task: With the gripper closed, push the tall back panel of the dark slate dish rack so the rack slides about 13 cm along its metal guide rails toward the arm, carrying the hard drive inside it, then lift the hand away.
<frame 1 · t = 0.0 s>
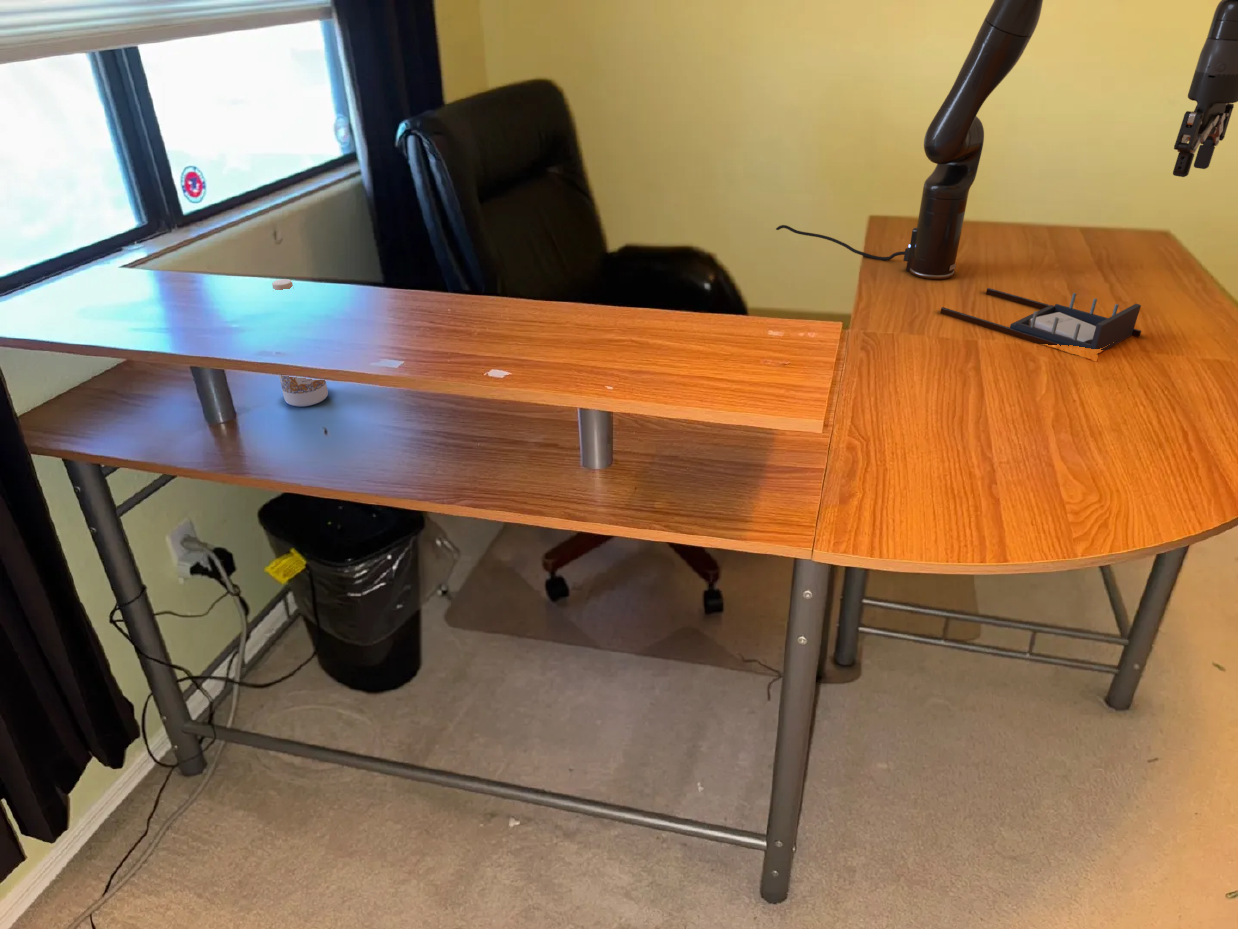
hand: (1190, 171, 151), 29 cm above the table, tool pointing down, fingers open, 8 cm apart
rack: (1074, 318, 164), point 3 cm above the table, slide at 0.0 cm, touching hard drive
rack rails: (1036, 324, 170), on the table
patterned jar: (307, 399, 146), on the table
hard drive: (1069, 334, 165), resting in rack
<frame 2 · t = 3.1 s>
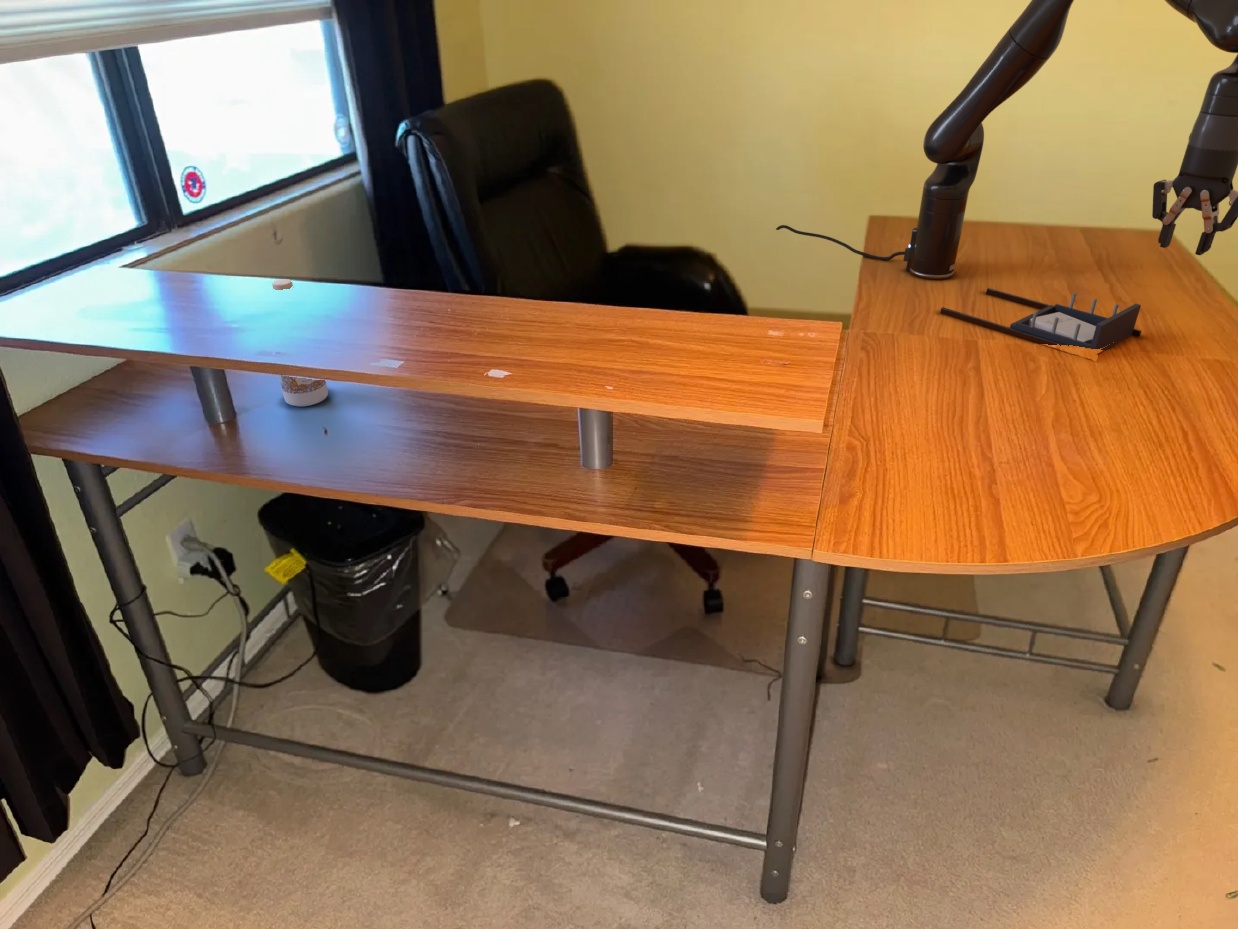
hand: (1181, 249, 146), 19 cm above the table, tool pointing down, fingers open, 5 cm apart
nothing on the table moved.
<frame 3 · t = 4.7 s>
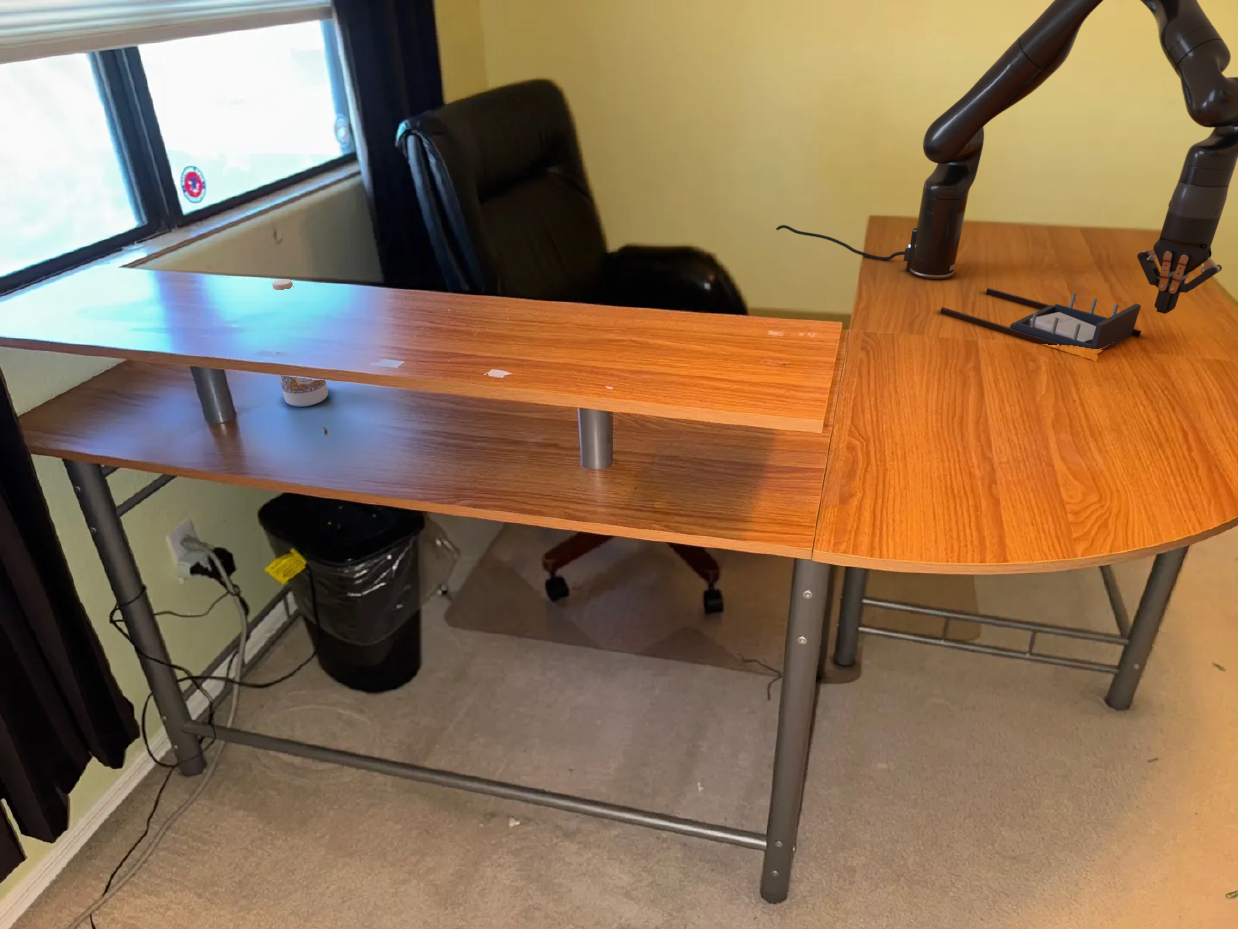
hand: (1162, 311, 152), 9 cm above the table, tool pointing down, fingers closed
nothing on the table moved.
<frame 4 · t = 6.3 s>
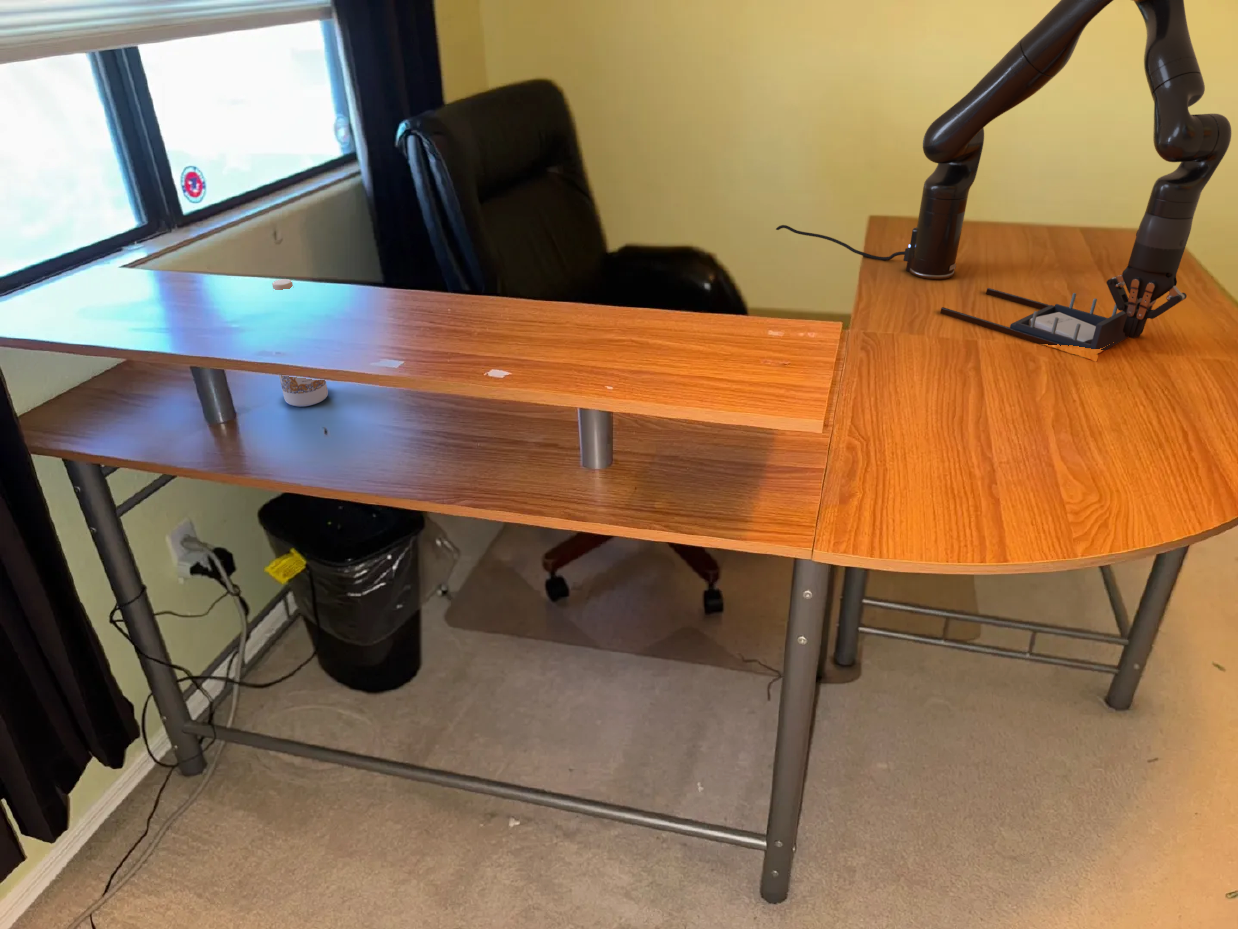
hand: (1130, 336, 157), 3 cm above the table, tool pointing down, fingers closed
rack: (1073, 318, 164), point 3 cm above the table, slide at 0.0 cm, touching gripper, hard drive
everything else where it was.
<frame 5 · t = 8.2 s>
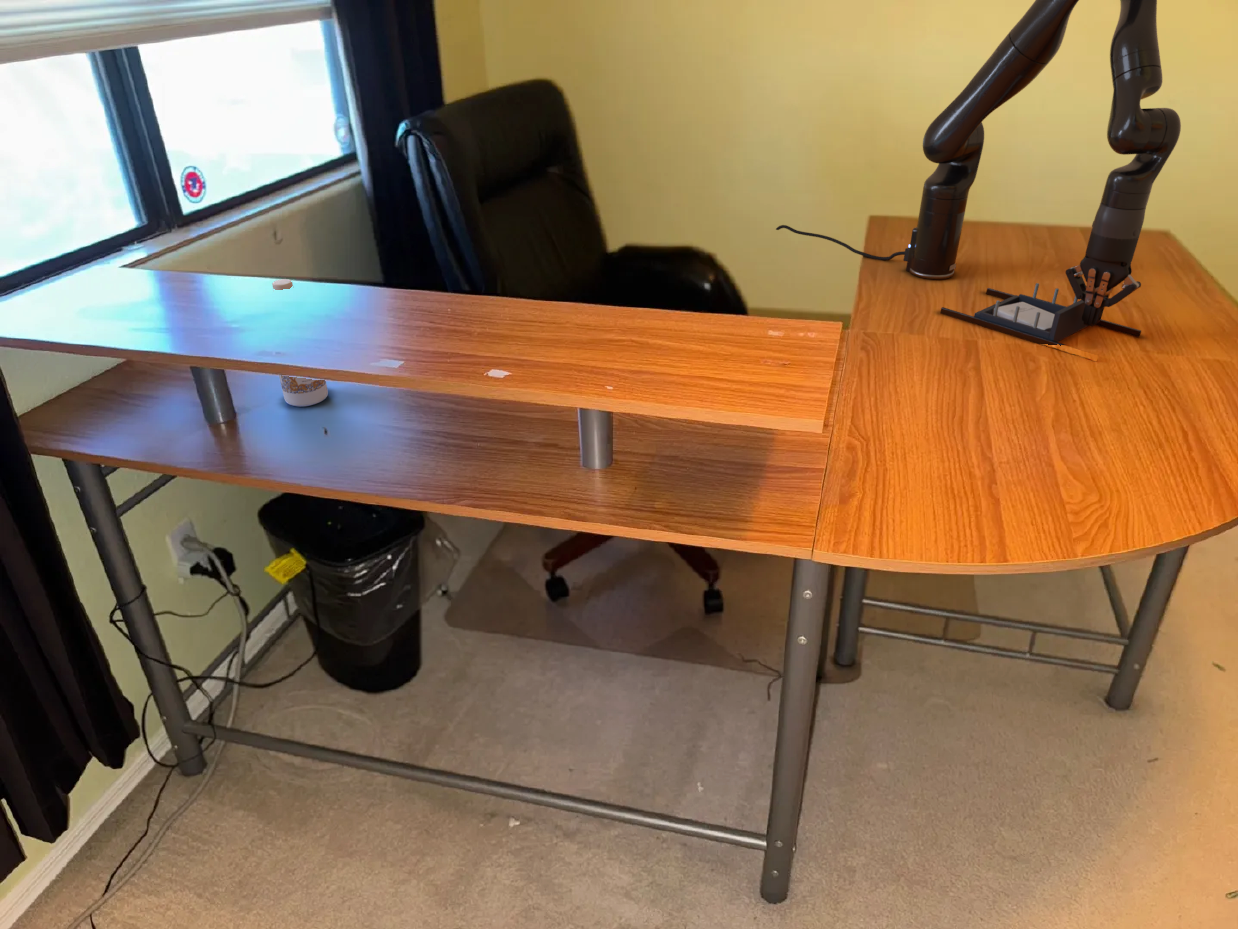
hand: (1089, 324, 162), 3 cm above the table, tool pointing down, fingers closed
rack: (1035, 307, 169), point 3 cm above the table, slide at 7.5 cm, touching gripper, hard drive
hard drive: (1031, 323, 170), resting in rack
everything else where it was.
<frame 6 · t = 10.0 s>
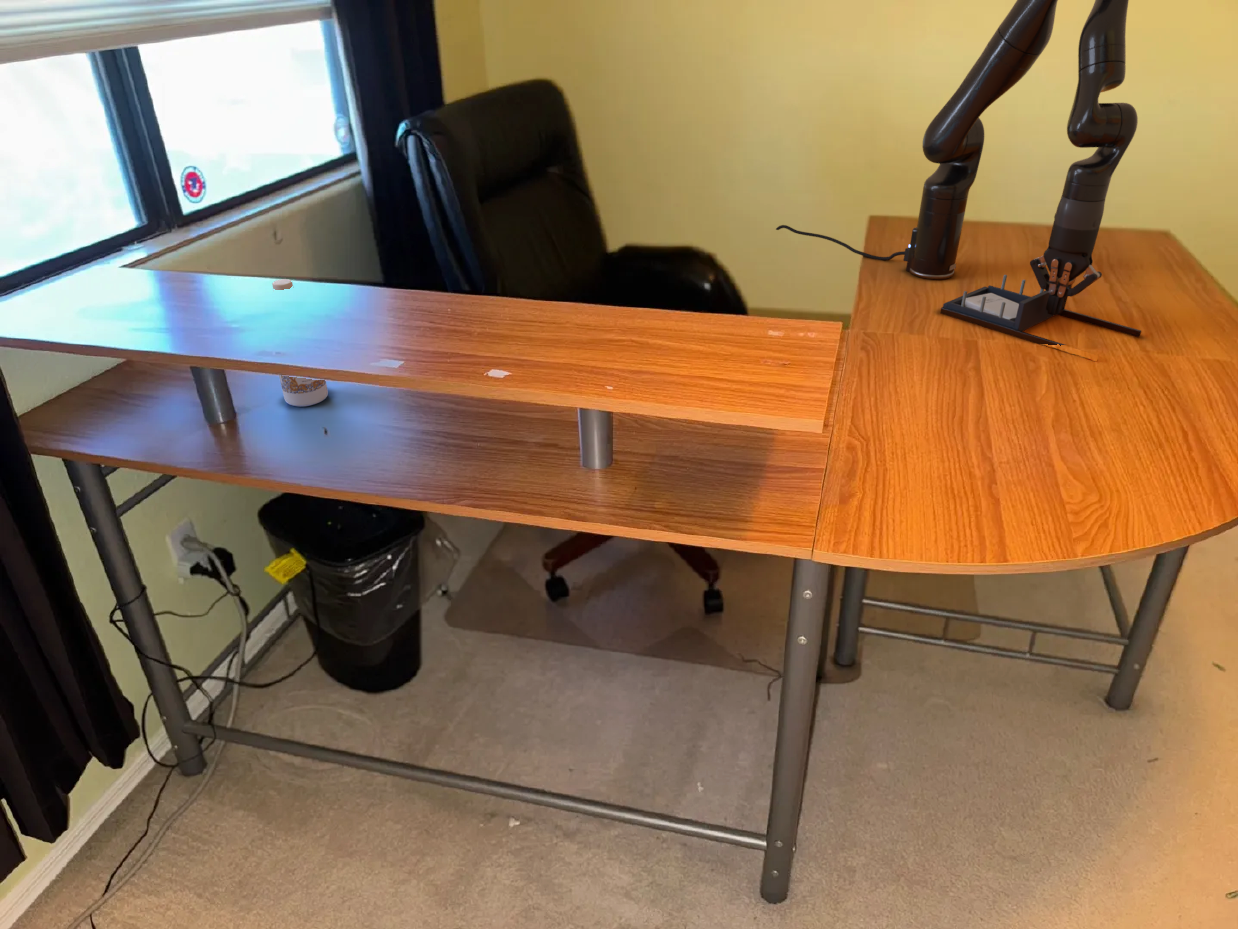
hand: (1053, 313, 166), 3 cm above the table, tool pointing down, fingers closed
rack: (1002, 297, 173), point 3 cm above the table, slide at 14.3 cm, touching gripper, hard drive
hard drive: (999, 313, 175), resting in rack
everything else where it was.
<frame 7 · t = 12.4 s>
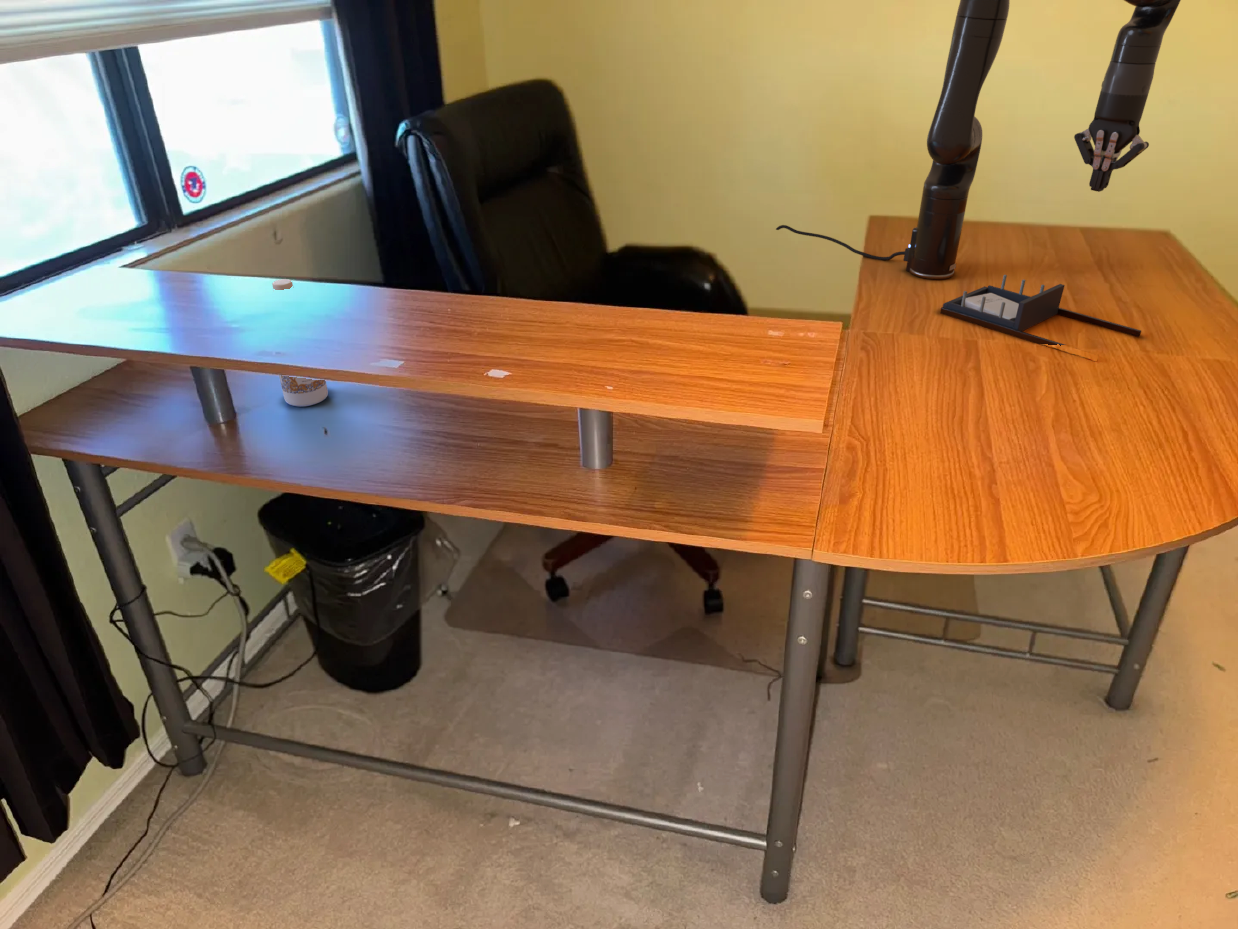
hand: (1096, 190, 163), 24 cm above the table, tool pointing down, fingers closed
rack: (1002, 297, 173), point 3 cm above the table, slide at 14.4 cm, touching hard drive
everything else where it was.
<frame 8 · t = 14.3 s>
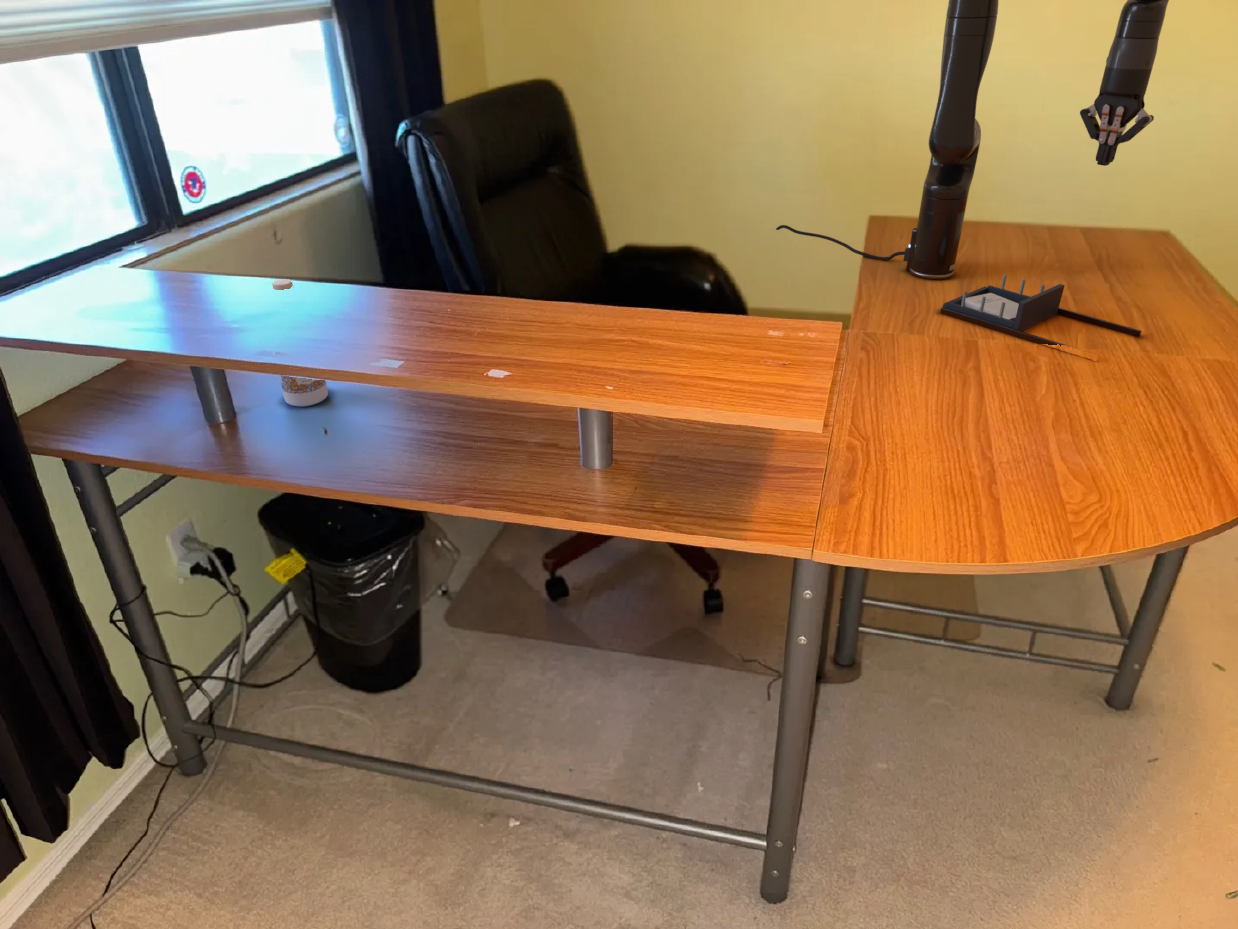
hand: (1103, 164, 167), 27 cm above the table, tool pointing down, fingers closed
nothing on the table moved.
at the end: hard drive inside the target area (2.3 cm from its centre), resting in rack; rack slide at 14.4 cm; hard drive tilted 0° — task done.
